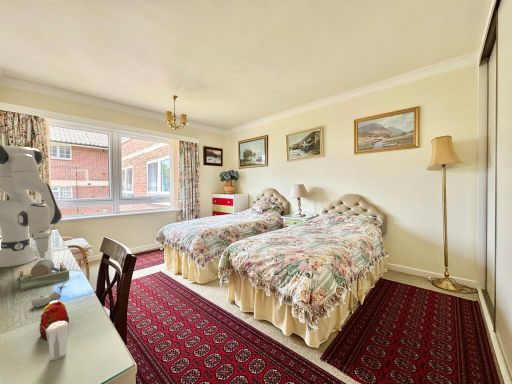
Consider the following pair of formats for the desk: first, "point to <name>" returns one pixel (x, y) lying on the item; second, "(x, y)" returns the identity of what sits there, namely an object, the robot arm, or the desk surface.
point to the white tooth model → (57, 339)
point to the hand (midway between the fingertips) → (42, 257)
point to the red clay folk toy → (53, 315)
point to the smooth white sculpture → (44, 299)
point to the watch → (53, 302)
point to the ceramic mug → (43, 268)
